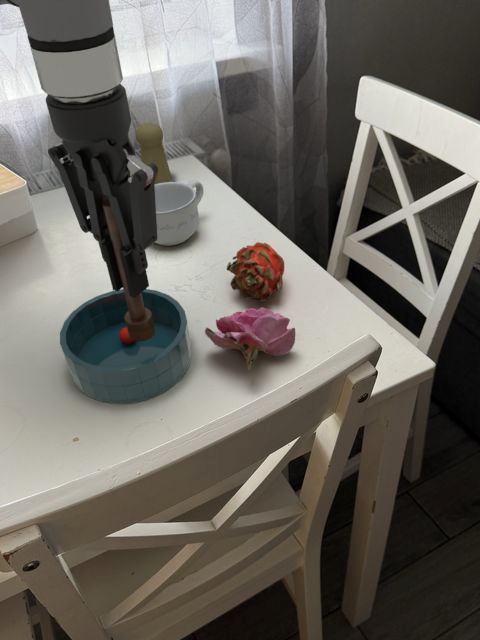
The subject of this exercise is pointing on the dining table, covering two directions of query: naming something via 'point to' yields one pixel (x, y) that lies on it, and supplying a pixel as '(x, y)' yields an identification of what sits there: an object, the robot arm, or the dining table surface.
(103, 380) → the bowl
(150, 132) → the olive pawn
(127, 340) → the red ball
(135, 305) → the stirring stick
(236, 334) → the flower
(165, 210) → the teacup
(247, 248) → the dragon fruit
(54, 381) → the dining table surface
